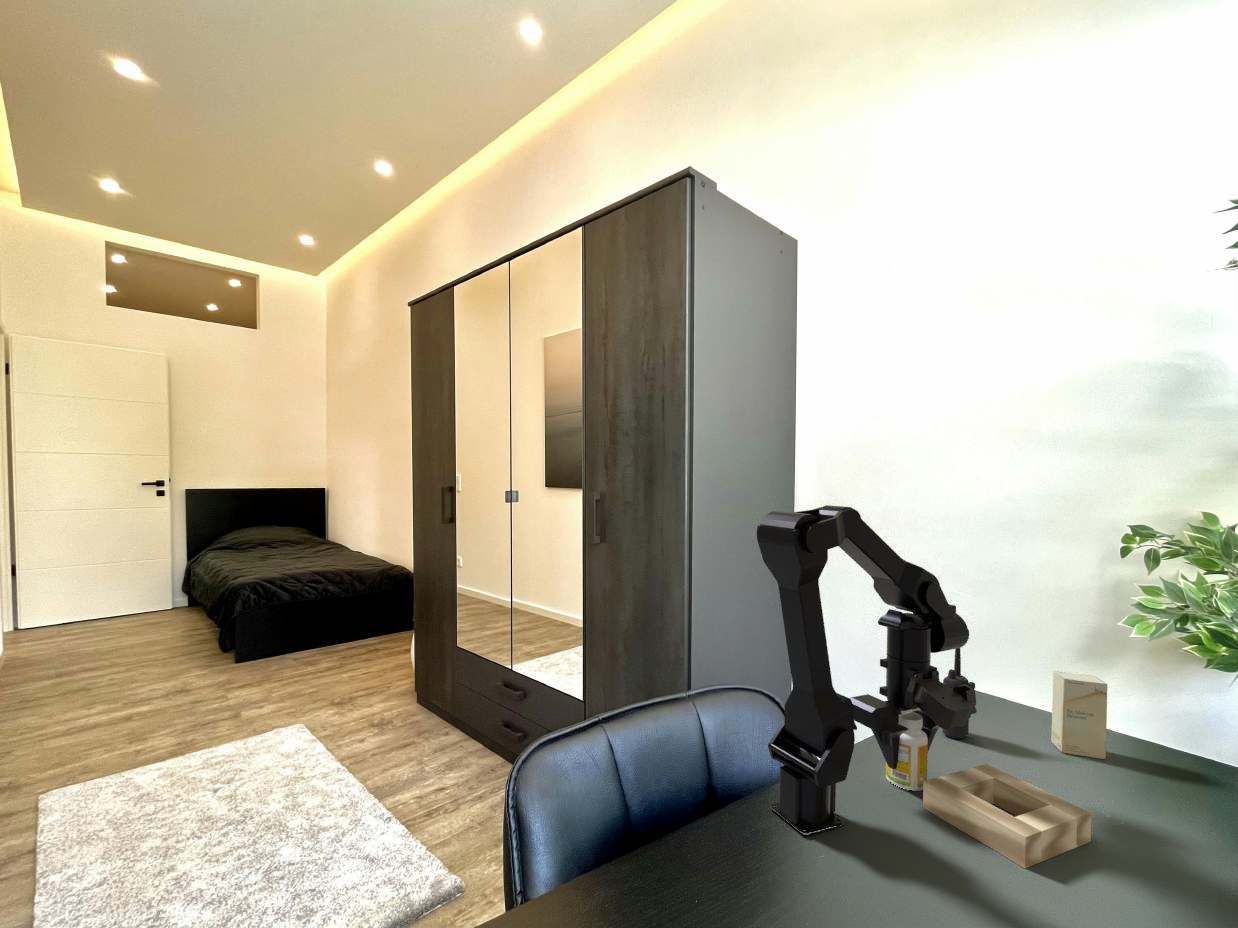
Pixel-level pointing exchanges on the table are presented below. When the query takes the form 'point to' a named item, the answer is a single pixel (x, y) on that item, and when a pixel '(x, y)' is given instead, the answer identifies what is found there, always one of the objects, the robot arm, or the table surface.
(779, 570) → the robot arm
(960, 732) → the two-way radio
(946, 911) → the table surface
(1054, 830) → the socket block
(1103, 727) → the skincare box
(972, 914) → the table surface
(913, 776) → the supplement bottle
